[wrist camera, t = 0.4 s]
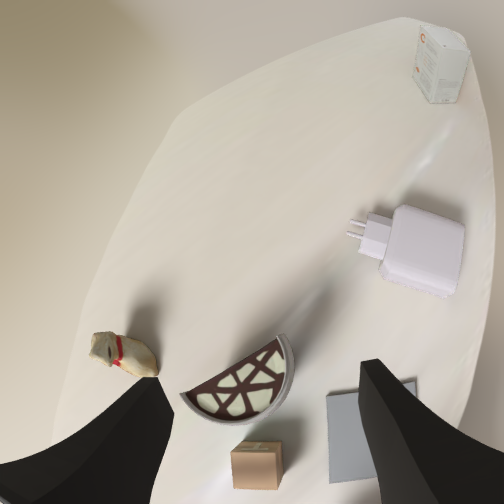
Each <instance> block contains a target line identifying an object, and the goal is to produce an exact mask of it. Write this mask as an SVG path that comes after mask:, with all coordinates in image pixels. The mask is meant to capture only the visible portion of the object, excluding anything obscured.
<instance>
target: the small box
mask: <svg viewBox="0 0 504 504" xmlns="http://www.w3.org/2000/svg"><path fill="white" fill-rule="evenodd" d="M470 53H471V51H470V50H469V49H468V48H467V47H466V46H465V45H464V44H463V43H462V42H461V41H460V40H459V39H458V38H457V37H456V36H455V35H454V34H453V33H452V32H451V31H450V30H449V29H448V28H444V27H435V26H425V25H420V33H419V41H418V48H417V55H416V61H415V67H414V73H413V78H414V80H415V81H416V83H417V84H418V86H419V87H420V89H421V90H422V92H423V93H424V95H425V96H426V98H427V99H428V101H429V103H456V100H457V97H458V94H459V91H460V88H461V85H462V82H463V78H464V75H465V72H466V68H467V65H468V61H469V57H470Z"/></svg>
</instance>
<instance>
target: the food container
mask: <svg viewBox="0 0 504 504" xmlns="http://www.w3.org/2000/svg"><path fill="white" fill-rule="evenodd" d="M276 337H277V339H275V340H274V341H272V342H270V343H269V344H268V345H266V346H265V347H263V348H262V349H260V350H258V351H257V352H255V353H254V354H252V355H250V356H249V357H247V358H245V359H244V360H242V361H240V362H239V363H237V364H235V365H233V366H232V367H230V368H228V369H226V370H225V371H223V372H222V373H220V374H218V375H217V376H215V377H213V378H211V379H210V380H208V381H206V382H204V383H202V384H201V385H199V386H197V387H195V388H194V389H192V390H190V391H187V392H183V393H179V395H180V397H181V398H182V400H183V401H184V402H185V403H186V404H187V406H188V407H189V408H190V409H192V410H193V411H194V412H195V413H196V414H198V415H199V416H201V417H203V418H204V419H206V420H209V421H211V422H214V423H217V424H221V425H231V426H235V425H247V424H251V423H255V422H257V421H260V420H262V419H264V418H266V417H267V416H269V415H270V414H272V413H273V412H274V411H275V410H276V409H277V408H278V407H279V406H280V405H281V404H282V402H283V401H284V400H285V398H286V396H287V395H288V393H289V391H290V388H291V385H292V382H293V377H294V357H293V352H292V349H291V346H290V343H289V341H288V339H287V337H286V335H285V334H280V335H279V336H276Z"/></svg>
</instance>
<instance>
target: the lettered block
mask: <svg viewBox="0 0 504 504" xmlns="http://www.w3.org/2000/svg"><path fill="white" fill-rule="evenodd" d="M230 453H231V465H232V476H233V487H234V489H252V490H278V487H279V485H280V482H281V480H282V477H283V457H282V441H242V442H241V443H240V444H239V445H238V446H237V447H235V448H234V449H233V450H232V451H231V452H230Z"/></svg>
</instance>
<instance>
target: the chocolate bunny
mask: <svg viewBox="0 0 504 504" xmlns="http://www.w3.org/2000/svg"><path fill="white" fill-rule="evenodd" d="M91 348H92V349H91V351H90V354H89V356H90V358H92V359H94V360H97V361H100V362H102V363H103V364H104V365H106V366H109V367H111V366H112V364H115V365H117V366H119V367H120V368H122V369H123V370H125V371H126V372H128V373H130V374H132V375H135V376H137V377H141V378H143V377H155V376H157V375H158V374H159V372H158V369H157V366H156V359H155V356H154V354H153V353H152V352H151V351H150V350H149V348H148V347H147V346H146V345H145V344H144V343H142V342H141V341H139V340H135V339H132V338H131V339H130V338H127V337H125V336H122V335H116V334H115V333H113V332H110V331H109V332H98V333H94V334H93V336H92V341H91Z"/></svg>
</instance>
